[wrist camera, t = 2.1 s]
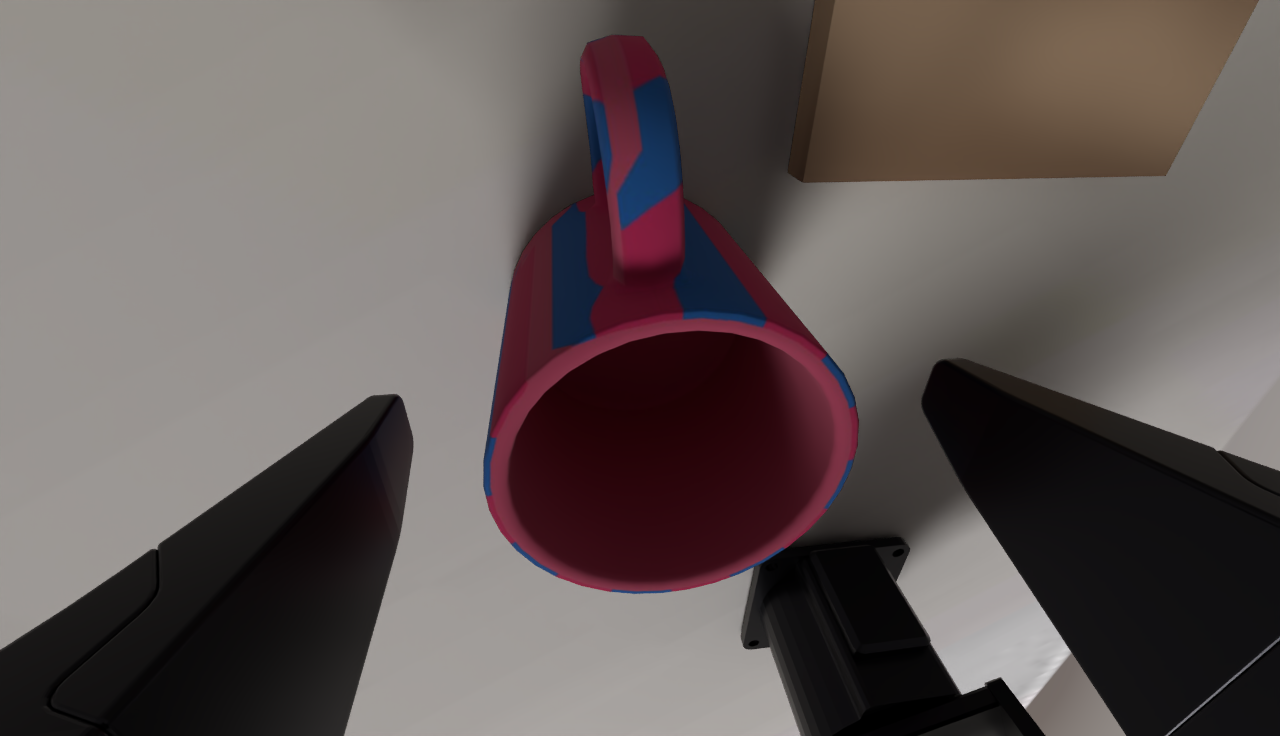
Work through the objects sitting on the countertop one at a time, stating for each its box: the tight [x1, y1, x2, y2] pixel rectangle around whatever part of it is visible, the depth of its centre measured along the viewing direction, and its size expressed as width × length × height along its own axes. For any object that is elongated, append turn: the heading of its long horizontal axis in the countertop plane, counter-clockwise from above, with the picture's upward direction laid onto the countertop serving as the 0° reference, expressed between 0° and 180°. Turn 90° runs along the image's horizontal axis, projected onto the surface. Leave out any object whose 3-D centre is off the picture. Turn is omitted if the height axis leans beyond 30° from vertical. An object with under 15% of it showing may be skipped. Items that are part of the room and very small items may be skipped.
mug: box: [483, 35, 859, 594], centre depth 11 cm, size 7×10×7 cm
